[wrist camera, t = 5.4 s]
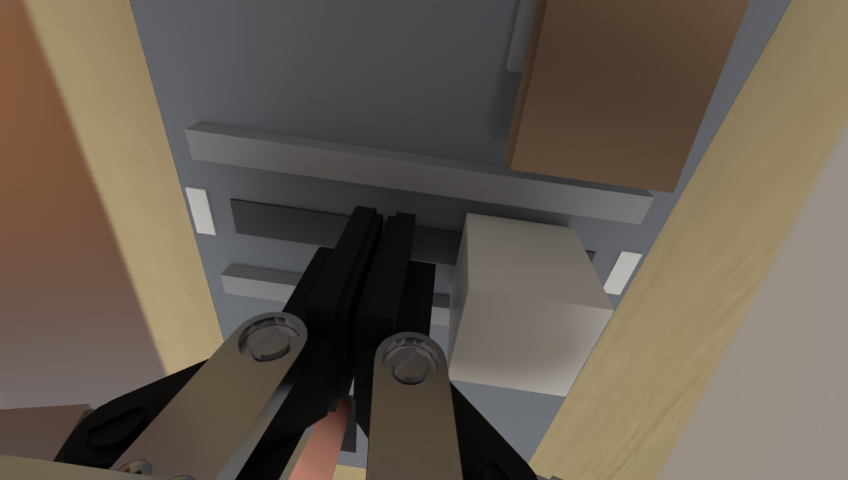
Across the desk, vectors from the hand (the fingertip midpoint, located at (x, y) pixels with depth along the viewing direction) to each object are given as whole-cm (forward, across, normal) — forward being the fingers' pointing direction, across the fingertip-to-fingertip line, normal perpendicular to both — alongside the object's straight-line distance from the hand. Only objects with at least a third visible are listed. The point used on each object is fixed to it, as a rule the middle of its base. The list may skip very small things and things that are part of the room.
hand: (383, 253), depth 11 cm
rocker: (0, -4, -6) cm, 7 cm away
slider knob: (+1, -4, 0) cm, 4 cm away
